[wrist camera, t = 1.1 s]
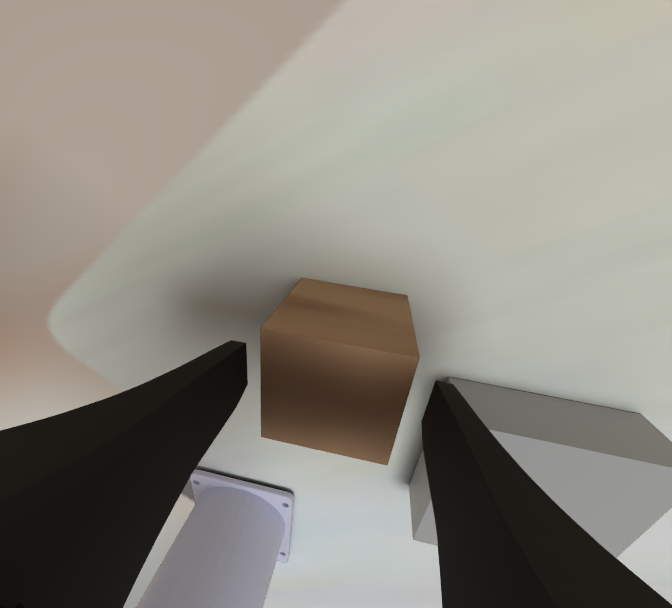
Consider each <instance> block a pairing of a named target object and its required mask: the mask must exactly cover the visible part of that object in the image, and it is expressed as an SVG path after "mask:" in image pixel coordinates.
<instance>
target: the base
mask: <svg viewBox="0 0 672 608" xmlns="http://www.w3.org/2000/svg"><path fill="white" fill-rule="evenodd" d="M447 383H450V384H454V386H455V387H456V388H457V389H458V391H459V392H460V393H461V395H462V396H463V397H464V399H465V400H466V401H467V402H468V404H469V405H470V406H471V408H472V409H473V410H474V412H475V413H476V414H477V416H478V417H479V418H480V419H481V421H482V422H483V423H484V424H485V426H486V427H487V428H488V429H489V431H490V432H491V433H492V434H493V436H494V437H495V438H496V439H497V440H498V441H499V443H500V444H501V445H502V446H503V447H504V449H505V450H506V451H507V452H508V453H509V454H510V455H511V456H512V458H513V459H514V460H515V461H516V462H517V463H518V464H519V466H520V467H521V468H522V469H523V470H524V471H525V472H526V473H527V474H528V475H529V476H530V477H531V478H532V480H533V481H534V482H535V483H536V484H537V485H538V486H539V487H540V488H541V489H542V490H543V491H544V492H545V493H546V494H547V495H548V496H549V497H550V498H551V499H552V500H553V501H554V502H555V503H556V504H557V505H558V506H559V507H560V508H561V509H562V510H564V511H565V512H566V513H567V514H568V515H569V516H570V517H571V518H572V519H573V520H574V521H575V522H576V523H577V524H578V525H580V526H581V527H582V528H583V529H584V530H585V531H586V532H587V533H588V534H589V535H591V536H592V537H593V538H594V539H595V540H596V541H597V542H598V543H599V544H600V545H602V546H603V547H604V548H605V549H606V550H607V551H608V552H610V553H611V554H612V555H613V556H614V557H615V558H617V557H618V556H619V555H620V554H621V553H622V552H623V551H625V550H626V549H627V548H628V547H629V546H630V545H631V544H632V543H633V542H634V541H636V540H637V539H638V538H639V537H640V536H641V535H642V534H643V533H644V532H645V531H647V530H648V529H649V528H650V527H651V526H652V525H653V524H654V523H655V522H656V521H658V520H659V519H660V518H661V517H662V516H663V515H664V514H665V513H666V512H667V511H669V510H670V509H671V508H672V442H671V441H670V440H669V439H668V438H667V437H666V436H664V435H663V434H662V433H661V432H660V431H659V430H658V429H657V428H656V427H655V426H654V425H653V424H651V423H650V422H649V421H648V420H647V419H646V418H645V417H644V416H643V415H642V414H637V413H632V412H627V411H622V410H617V409H611V408H606V407H601V406H596V405H591V404H586V403H580V402H575V401H570V400H565V399H560V398H555V397H549V396H544V395H539V394H534V393H529V392H524V391H518V390H513V389H508V388H503V387H498V386H493V385H487V384H482V383H477V382H472V381H467V380H462V379H456V378H451V377H449V378H448V381H447ZM409 491H410V505H411V518H412V531H413V540H417V541H421V542H425V543H429V544H433V545H436V546H438V541H437V532H436V524H435V518H434V512H433V506H432V500H431V494H430V488H429V483H428V477H427V471H426V465H425V459H424V452H423V449H422V451H421V454H420V457H419V460H418V462H417V465H416V468H415V470H414V473H413V476H412V479H411V481H410V484H409Z"/></svg>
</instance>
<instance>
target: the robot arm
mask: <svg viewBox="0 0 672 608" xmlns="http://www.w3.org/2000/svg"><path fill="white" fill-rule="evenodd" d="M247 384H248V381H247V354H246V343H242V342H237V341H232V340H231V341H229V342H227V343H225V344H223V345H221V346H219V347H217V348H215V349H213V350H211V351H209V352H207V353H205V354H203V355H202V356H200V357H198V358H196V359H194V360H192V361H190V362H188V363H186V364H184V365H182V366H180V367H178V368H176V369H174V370H172V371H170V372H167V373H165V374H163V375H161V376H159V377H157V378H155V379H153V380H150V381H148V382H146V383H144V384H141V385H139V386H137V387H134V388H132V389H129V390H127V391H124V392H122V393H119V394H117V395H114V396H112V397H109V398H106V399H103V400H101V401H98V402H95V403H92V404H89V405H86V406H83V407H80V408H77V409H74V410H71V411H68V412H65V413H62V414H59V415H55V416H52V417H48V418H45V419H41V420H38V421H35V422H31V423H27V424H24V425H20V426H16V427H12V428H9V429H5V430H1V431H0V608H123V606H124V604H125V602H126V600H127V598H128V596H129V593H130V591H131V589H132V587H133V585H134V583H135V581H136V579H137V577H138V575H139V573H140V571H141V569H142V567H143V564H144V563H145V561H146V559H147V557H148V555H149V553H150V551H151V549H152V547H153V545H154V543H155V541H156V539H157V537H158V535H159V533H160V531H161V529H162V527H163V526H164V523H165V522H166V520H167V518H168V516H169V514H170V512H171V510H172V509H173V507H174V505H175V503H176V501H177V499H178V498H179V496H180V494H181V492H182V490H183V489H184V487H185V485H186V483H187V481H188V480H189V478H190V479H191V485H192V490H193V496H194V501H195V507H194V508H193V510H192V512H191V513H190V515H189V517H188V519H187V520H186V522H185V524H184V525H183V527H182V529H181V531H180V532H179V534H178V536H177V538H176V539H175V541H174V543H173V544H172V546H171V548H170V549H169V551H168V553H167V555H166V556H165V558H164V560H163V561H162V563H161V565H160V567H159V568H158V570H157V572H156V573H155V575H154V577H153V579H152V580H151V582H150V584H149V585H148V587H147V589H146V591H145V592H144V594H143V596H142V597H141V599H140V601H139V603H138V604H137V606H136V608H263V605H264V602H265V598H266V595H267V591H268V588H269V584H270V581H271V577H272V574H273V570H274V567H275V563H276V561H279V562H283V563H286V562H288V559H289V553H290V540H291V527H292V515H293V502H294V496H293V495H292V494H291V493H289V492H286V491H282V490H278V489H274V488H270V487H266V486H262V485H258V484H254V483H250V482H246V481H242V480H238V479H234V478H230V477H226V476H222V475H218V474H214V473H210V472H206V471H202V470H197V469H196V470H194V469H195V468H196V466H197V465H198V463H199V461H200V460H201V459H202V457H203V456H204V454H205V453H206V451H207V450H208V448H209V447H210V445H211V444H212V442H213V441H214V439H215V438H216V436H217V435H218V433H219V432H220V431H221V429H222V428H223V426H224V425H225V423H226V422H227V420H228V419H229V417H230V416H231V414H232V413H233V411H234V410H235V408H236V406H237V404H238V402H239V401H240V399H241V397H242V395H243V393H244V391H245V388H246V386H247ZM422 440H423V452H424V459H425V465H426V471H427V477H428V483H429V488H430V494H431V500H432V506H433V512H434V518H435V524H436V532H437V541H438V553H439V565H440V577H441V592H442V607H443V608H672V605H671V604H670V603H669V602H668V601H666V600H665V599H664V598H663V597H662V596H660V595H659V594H658V593H657V592H656V591H654V590H653V589H652V588H651V587H650V586H648V585H647V584H646V583H645V582H644V581H642V580H641V579H640V578H639V577H638V576H636V575H635V574H634V573H633V572H632V571H630V570H629V569H628V568H627V567H626V566H625V565H623V564H622V563H621V562H620V561H619V560H618V559H616V558H615V557H614V556H613V555H612V554H611V553H610V552H608V551H607V550H606V549H605V548H604V547H603V546H602V545H600V544H599V543H598V542H597V541H596V540H595V539H594V538H593V537H592V536H591V535H589V534H588V533H587V532H586V531H585V530H584V529H583V528H582V527H581V526H580V525H578V524H577V523H576V522H575V521H574V520H573V519H572V518H571V517H570V516H569V515H568V514H567V513H566V512H565V511H564V510H562V509H561V508H560V507H559V506H558V505H557V504H556V503H555V502H554V501H553V500H552V499H551V498H550V497H549V496H548V495H547V494H546V493H545V492H544V491H543V490H542V489H541V488H540V487H539V486H538V485H537V484H536V483H535V482H534V481H533V480H532V478H531V477H530V476H529V475H528V474H527V473H526V472H525V471H524V470H523V469H522V468H521V467H520V466H519V464H518V463H517V462H516V461H515V460H514V459H513V458H512V456H511V455H510V454H509V453H508V452H507V451H506V450H505V449H504V447H503V446H502V445H501V444H500V443H499V441H498V440H497V439H496V438H495V437H494V436H493V434H492V433H491V432H490V431H489V429H488V428H487V427H486V426H485V424H484V423H483V422H482V421H481V419H480V418H479V417H478V416H477V414H476V413H475V412H474V410H473V409H472V408H471V406H470V405H469V404H468V402H467V401H466V400H465V399H464V397H463V396H462V395H461V393H460V392H459V391H458V389H457V388H456V387H455V386H454V384H450V383H445V382H440V381H436V382H435V384H434V387H433V390H432V393H431V396H430V399H429V402H428V405H427V407H426V410H425V413H424V416H423V419H422Z"/></svg>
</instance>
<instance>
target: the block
mask: <svg viewBox="0 0 672 608" xmlns="http://www.w3.org/2000/svg"><path fill="white" fill-rule="evenodd" d="M260 340H261V437H264V438H268V439H273V440H277V441H282V442H286V443H290V444H295V445H299V446H304V447H308V448H313V449H317V450H321V451H326V452H330V453H335V454H339V455H344V456H348V457H352V458H357V459H361V460H366V461H370V462H374V463H379V464H383V465H388V462H389V458H390V455H391V452H392V448H393V445H394V442H395V438H396V435H397V431H398V428H399V425H400V421H401V418H402V415H403V411H404V408H405V405H406V401H407V398H408V395H409V391H410V388H411V385H412V381H413V378H414V375H415V371H416V368H417V365H418V361H419V353H418V348H417V343H416V337H415V332H414V327H413V322H412V317H411V312H410V307H409V301H408V296H407V295H401V294H395V293H389V292H383V291H377V290H371V289H365V288H359V287H353V286H347V285H341V284H335V283H329V282H323V281H317V280H311V279H305V278H302V279H301V280H300V281H299V282H298V284H297V285H296V286H295V287H294V288H293V290H292V291H291V292H290V293H289V295H288V296H287V297H286V298H285V299H284V301H283V302H282V303H281V304H280V305H279V307H278V308H277V309H276V310H275V311H274V313H273V314H272V315H271V316H270V317H269V319H268V320H267V321H266V322H265V323H264V325H263V326H262V327H261V328H260Z"/></svg>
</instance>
